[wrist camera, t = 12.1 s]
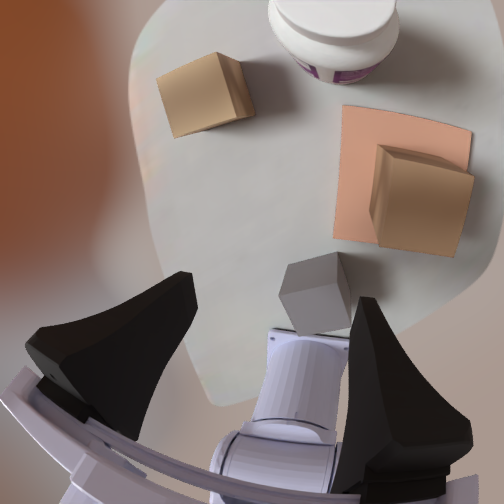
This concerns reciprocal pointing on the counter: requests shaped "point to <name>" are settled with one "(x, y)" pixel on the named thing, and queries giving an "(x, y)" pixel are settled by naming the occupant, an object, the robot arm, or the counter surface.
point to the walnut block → (418, 201)
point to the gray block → (317, 295)
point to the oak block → (205, 94)
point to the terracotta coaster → (364, 156)
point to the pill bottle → (336, 35)
